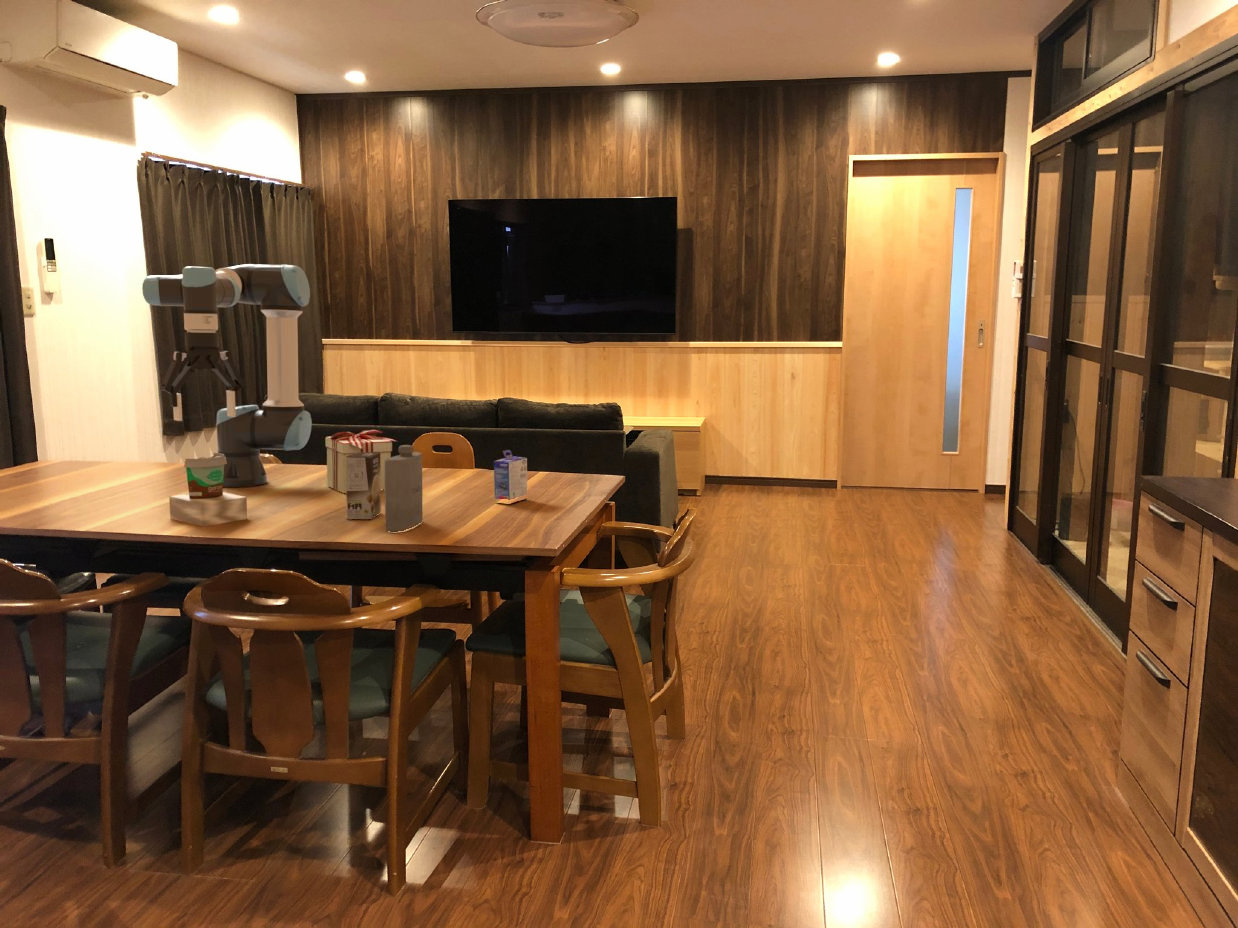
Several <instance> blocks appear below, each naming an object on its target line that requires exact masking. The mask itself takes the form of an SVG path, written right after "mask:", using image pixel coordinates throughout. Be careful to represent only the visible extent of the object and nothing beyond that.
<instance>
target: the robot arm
mask: <svg viewBox="0 0 1238 928" xmlns="http://www.w3.org/2000/svg"><path fill="white" fill-rule="evenodd" d="M181 272H182V273H181V274H173V275H161V274H156V275H148V276H146V277H145V278H144V280H143V281H142V284H141V287H142V288H141V290H142V296H143V300H145V301H146V303H147V304H148V305H150V306H160V307H183V323H184V326H183V327H184V330H185V331H186V332H185V333H184V346H185V352H181V351H173V352H172V357H171V362H170V365H169V367H168V368H167V372H166V373H165V376H164V378H163V380H162V383H161V385H160V388H159V389H160V390H161V391H163V392H165V393H168V395H169V396H168V399H169V406H170V407H171V408H172V410H173V411H172V412H173V421H177V422H181V421H183V408H182V407H183V406H182V394H181V393H178V392H179V391H180V390H181V388H182V387H183V386H184V385H185V383H186V381H188V379H189V378H190V377H191V375H192V374H193V373H194V372H195V371H203V370H204V371H213V372H214V373H215V375H216V376H217V377H218V378H219V379H220V380H221V381H222V382H223V383H224V385H225V386H226V387H227V388H228V390H227V389H226V390H225V392H226V393H225V394H226V407H225V408H221V409H219V410H218V411H217V413H216V423H215V425H216V438H217V440H216V441H217V453H221V454H224V457H226V461H227V464H225V465H224V479H223V488H224V487H225V488H226V487H227V488H238V487H239V488H242V487H243V488H244V487H254V486H259V485H260V486H261V485H264V484H266V483H267V482H268V480H267V479H268V477H267V476H268V475H267V473H266V470H265V467H264V464H263V462H262V459H261V453H260V450H280V451H281V450H283V451H287V452H288V451H294V450H295V451H297V450H298V451H299V450H302V448H304V447H305V446H306V445H307V443H308V441H309V439H310V436H311V432H312V427H313V423H312V417H311V416H312V415H311V414H310V412H309V411H307V410H305V404H304V403H303V402H302V401H301V400H300V399H299V353H298V352H299V345H298V344H299V341H298V338H299V336H298V335H299V334H298V331H299V329H298V318H299V316H301V314H303V310H304V309H303V307H306V306H308V305H309V303H310V298H311V289H310V285H309V280H308V277H307V275H306V273H305V271H304V270H303V269H302V268H301V267H300V266H298V265H295V264H294V265H293V264H260V263H259V264H258V263H257V264H255V263H246V264H240V265H234V266H228V267H220V268H217V269H215V268H213V267H210V266H209V267H208V266H185V267H183V268H182V271H181ZM237 303H239V304H246V305H255V306H256V305H260V312H261V313H262V314H264V315H263V316H265V318H266V320H265V321H266V361H267V363H266V366H267V367H266V369H267V370H266V373H267V374H266V375H267V399H266V401H264V402H263V403H262V409H260V408H259V405H257V404H249V405H239V406H236V404H238V403H239V394H238V393H239V391H240V390H241V389H244V388H245V387H246V383H245V381H244V380H243V378H242V376H241V374H240V372H239V370H238V368H237V367H236V364H235V362H234V360H233V354H232V352H231V351H230V350H223V351H220V350H219V347H220V339H219V334H218V332H216V331H218V329H219V319H218V318H219V317H218V308H222V309H223V308H225V309H227V308H231V307H233V306H235V305H236V304H237ZM220 359H221V360H222V361H223V364H224V365H225V367H226V369H227V372H228V373H229V375H230V376H229V375H228V373H227V372H226V370H224V368H223V366H222V365H221V364H220V362H219V360H220ZM184 360H186V361H187V363H186V364H185V365H184V367H183V369H182V371H180V373H179V374H178V372H179V370H180V368H181V365H182V362H183V361H184ZM177 374H178V376H177Z"/></svg>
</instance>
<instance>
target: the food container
mask: <svg viewBox="0 0 1238 928" xmlns="http://www.w3.org/2000/svg"><path fill="white" fill-rule="evenodd" d="M184 460H185V461H184V463H183V464H184V465H183V466H184V467H183V468H185V469H186V478H187V479H186V480H187V486H188V487H187V488H188V489H187V490H188V494H189V498H190V499H206V498H215V497H220V496H222V495H223V492H224V487H223V479H224V465H225V464H227V461H226V457H224V454H221V453H218V452H213V456H210V457H197V458H185V459H184Z"/></svg>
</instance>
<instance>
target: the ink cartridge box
mask: <svg viewBox="0 0 1238 928" xmlns="http://www.w3.org/2000/svg"><path fill="white" fill-rule="evenodd" d="M502 453H503V455H504V458H500V459H497V460H494V461H493V468H494V469H493V477H494V479H493V480H494V482H493V483H494V484H493V485H494V500H495V499H508V500H511V499H515V498H516V497H520V496H523V495H525V494H527V495H528V458H527V457H525V456H524V457H522V456H514V455H513V454H512V451H511V450H510V449H506V450H502ZM507 453H509V454H507Z"/></svg>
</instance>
